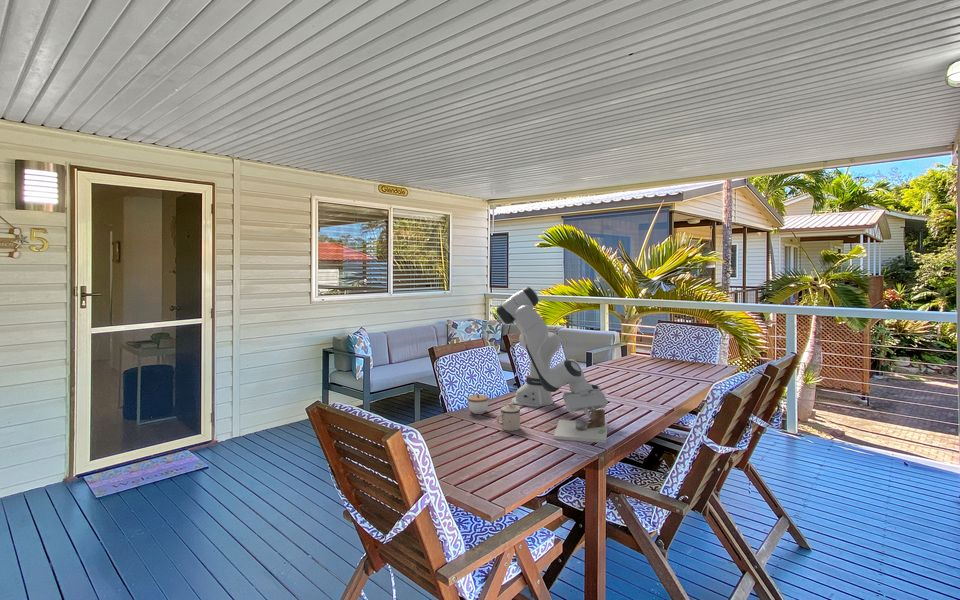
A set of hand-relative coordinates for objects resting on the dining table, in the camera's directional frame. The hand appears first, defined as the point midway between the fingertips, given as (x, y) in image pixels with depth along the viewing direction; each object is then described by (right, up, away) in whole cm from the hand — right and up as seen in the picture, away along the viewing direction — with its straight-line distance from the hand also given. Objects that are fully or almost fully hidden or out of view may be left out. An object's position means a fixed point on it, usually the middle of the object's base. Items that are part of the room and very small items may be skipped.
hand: (592, 417), depth 228 cm
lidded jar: (-52, -4, +29) cm, 59 cm away
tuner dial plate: (-6, -6, -3) cm, 9 cm away
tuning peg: (-1, -4, -2) cm, 4 cm away
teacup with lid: (-38, -6, +3) cm, 39 cm away
